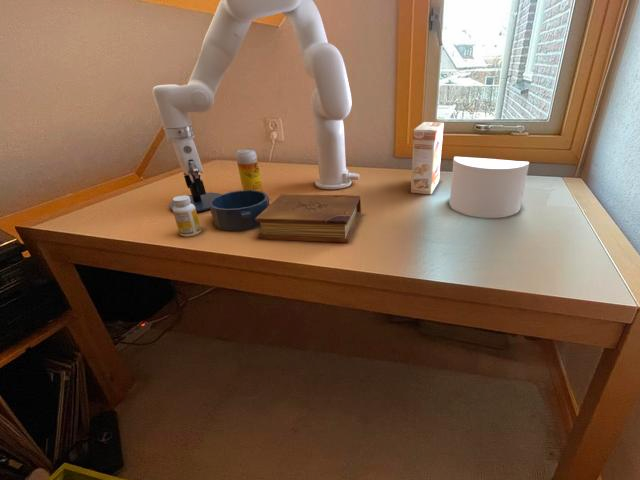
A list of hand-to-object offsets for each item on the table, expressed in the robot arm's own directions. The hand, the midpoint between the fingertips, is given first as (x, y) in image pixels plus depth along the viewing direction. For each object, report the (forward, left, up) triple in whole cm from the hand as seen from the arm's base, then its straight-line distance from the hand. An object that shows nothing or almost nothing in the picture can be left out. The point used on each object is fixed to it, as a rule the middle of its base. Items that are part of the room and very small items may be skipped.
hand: (196, 190), depth 114 cm
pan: (-19, +12, -4) cm, 23 cm away
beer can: (-16, -6, -5) cm, 17 cm away
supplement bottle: (-8, +21, -5) cm, 23 cm away
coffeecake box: (-72, -17, -5) cm, 74 cm away
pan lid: (0, 0, -4) cm, 4 cm away
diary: (-40, +16, -5) cm, 43 cm away
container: (-88, 0, -5) cm, 88 cm away
